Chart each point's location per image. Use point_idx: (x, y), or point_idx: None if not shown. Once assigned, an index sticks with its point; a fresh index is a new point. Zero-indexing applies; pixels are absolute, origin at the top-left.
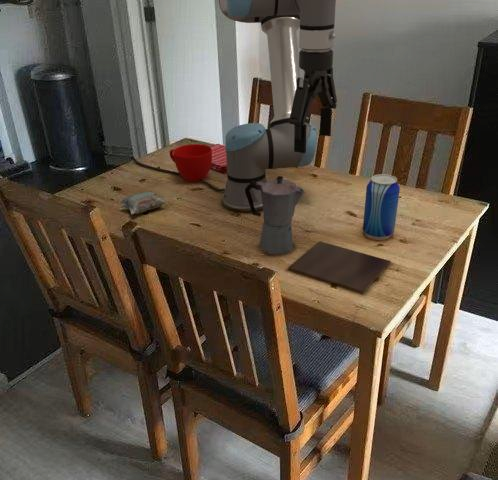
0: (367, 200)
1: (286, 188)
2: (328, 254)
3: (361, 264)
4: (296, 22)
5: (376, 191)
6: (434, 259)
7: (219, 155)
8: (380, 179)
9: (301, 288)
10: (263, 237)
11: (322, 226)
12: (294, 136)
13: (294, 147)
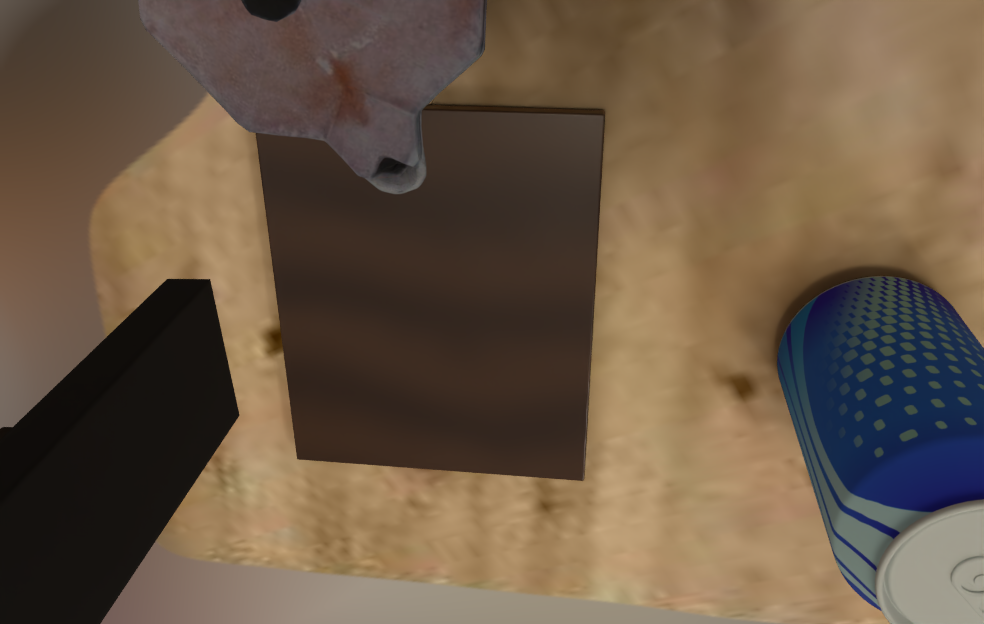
0: (852, 419)
1: (278, 71)
2: (487, 225)
3: (484, 391)
4: None
5: (841, 529)
6: (711, 598)
7: None
8: (974, 560)
9: (173, 233)
10: None
11: (842, 14)
12: (44, 399)
13: (138, 311)
